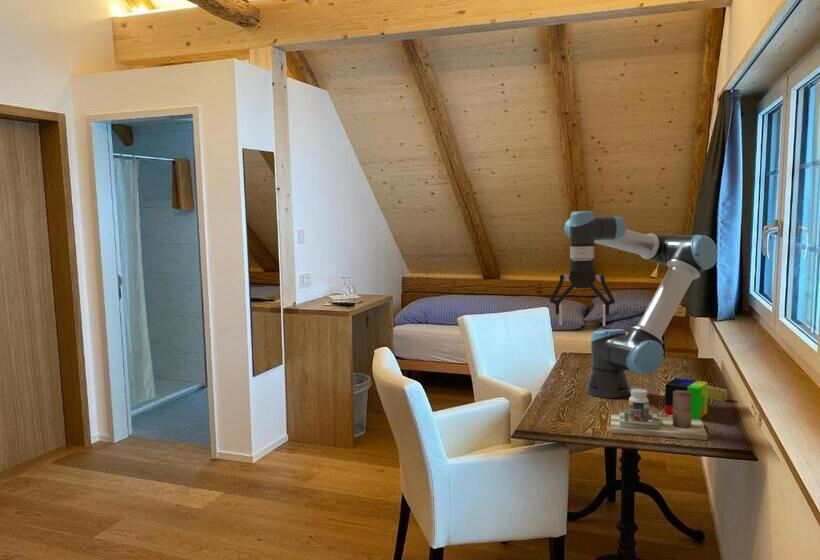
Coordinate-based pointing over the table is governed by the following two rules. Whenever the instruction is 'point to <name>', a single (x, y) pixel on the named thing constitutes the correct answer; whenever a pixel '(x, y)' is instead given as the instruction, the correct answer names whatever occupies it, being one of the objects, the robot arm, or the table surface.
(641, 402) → the pill bottle
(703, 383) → the puzzle toy
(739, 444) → the table surface
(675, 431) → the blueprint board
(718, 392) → the medication box
